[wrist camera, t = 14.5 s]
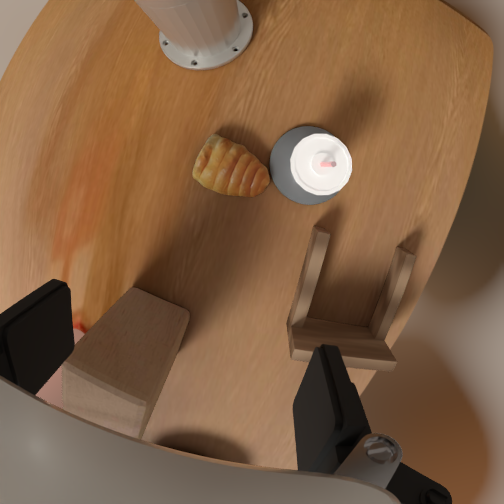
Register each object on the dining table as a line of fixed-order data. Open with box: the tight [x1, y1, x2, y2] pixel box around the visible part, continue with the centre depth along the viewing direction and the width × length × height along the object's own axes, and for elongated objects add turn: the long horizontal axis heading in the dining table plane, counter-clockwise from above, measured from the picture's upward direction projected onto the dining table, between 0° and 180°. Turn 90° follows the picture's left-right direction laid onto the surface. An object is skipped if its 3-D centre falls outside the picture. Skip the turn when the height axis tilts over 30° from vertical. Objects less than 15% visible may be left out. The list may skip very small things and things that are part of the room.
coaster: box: [270, 126, 341, 205], centre depth 37 cm, size 10×10×1 cm
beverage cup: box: [290, 134, 352, 195], centre depth 30 cm, size 6×6×14 cm
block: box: [62, 287, 190, 440], centre depth 35 cm, size 10×10×20 cm
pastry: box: [193, 134, 270, 197], centre depth 36 cm, size 9×7×4 cm
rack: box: [286, 226, 416, 371], centre depth 37 cm, size 15×14×9 cm
